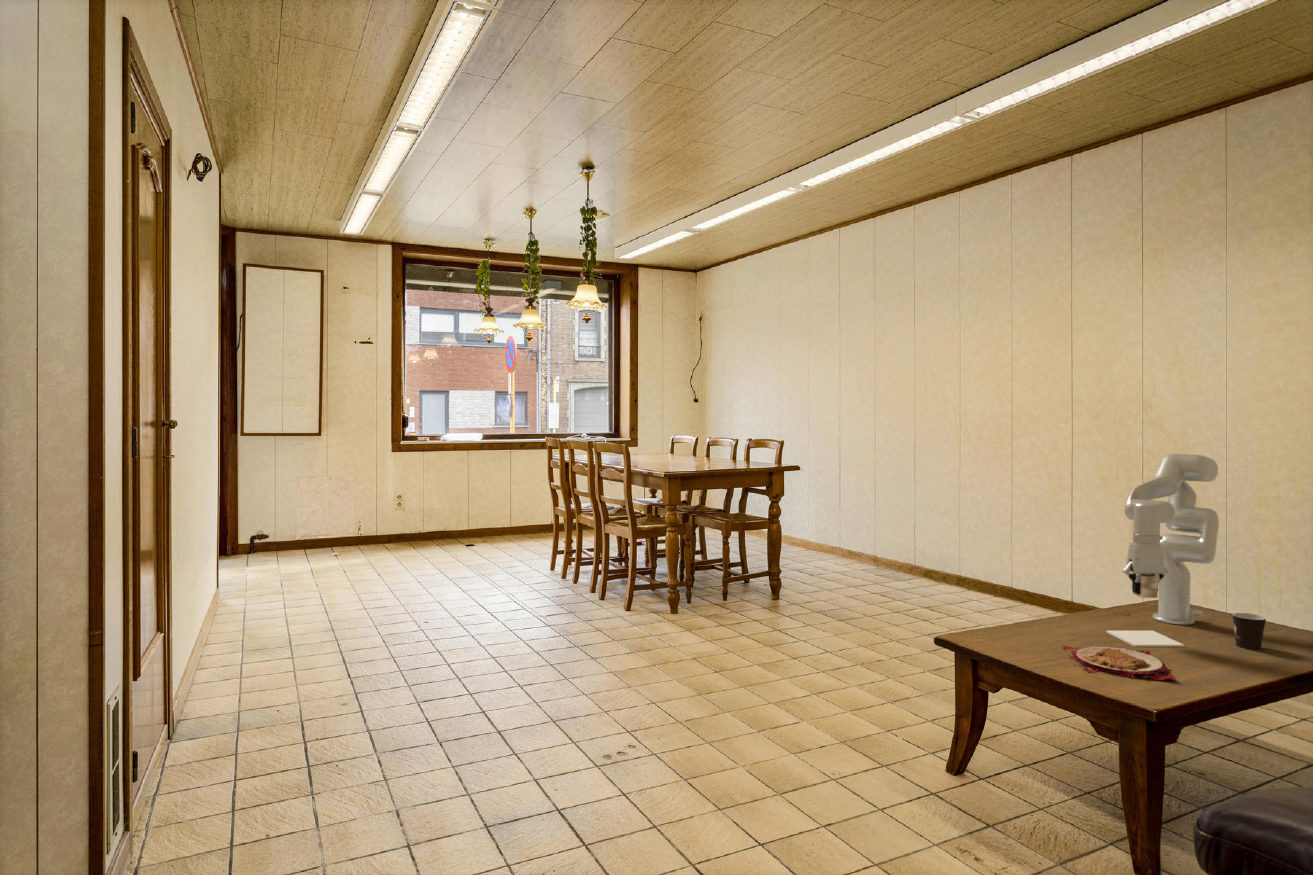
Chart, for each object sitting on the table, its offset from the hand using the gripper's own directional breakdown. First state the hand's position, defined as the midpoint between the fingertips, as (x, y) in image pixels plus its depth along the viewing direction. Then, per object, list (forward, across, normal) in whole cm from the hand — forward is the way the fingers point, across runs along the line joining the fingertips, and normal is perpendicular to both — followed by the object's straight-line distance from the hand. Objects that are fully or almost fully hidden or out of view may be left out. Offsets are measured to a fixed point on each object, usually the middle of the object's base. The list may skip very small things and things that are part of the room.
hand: (1144, 592), depth 257 cm
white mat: (+16, 0, 0) cm, 16 cm away
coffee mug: (+16, -30, +7) cm, 35 cm away
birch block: (+1, 0, 0) cm, 1 cm away
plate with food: (+17, +24, +25) cm, 38 cm away
